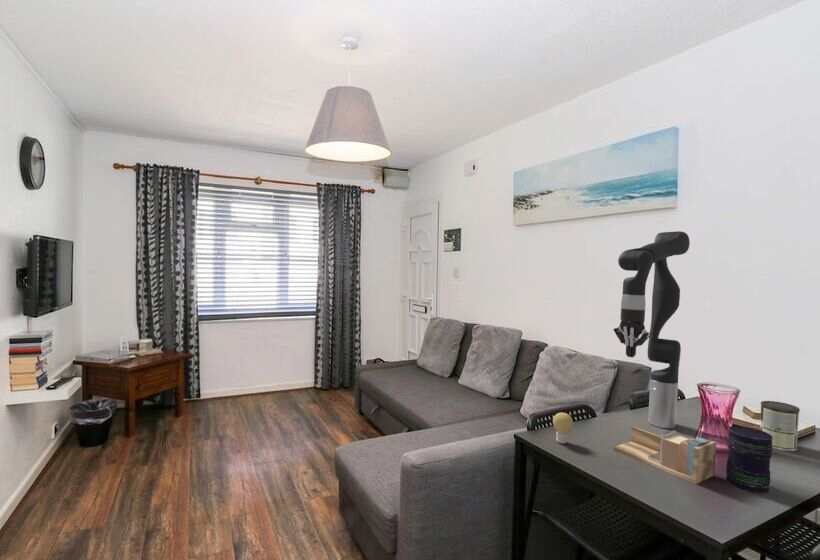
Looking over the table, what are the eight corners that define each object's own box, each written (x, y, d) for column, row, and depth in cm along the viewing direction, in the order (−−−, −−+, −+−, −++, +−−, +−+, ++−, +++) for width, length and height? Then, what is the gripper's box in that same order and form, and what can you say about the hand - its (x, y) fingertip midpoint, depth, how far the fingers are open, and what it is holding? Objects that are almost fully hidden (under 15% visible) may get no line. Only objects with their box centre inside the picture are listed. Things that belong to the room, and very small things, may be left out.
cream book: (674, 460, 133) (675, 434, 132) (689, 466, 129) (691, 439, 129) (661, 464, 129) (662, 438, 129) (676, 471, 125) (678, 444, 125)
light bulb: (567, 447, 142) (568, 417, 141) (548, 442, 146) (550, 412, 146) (574, 442, 146) (576, 413, 146) (556, 436, 151) (558, 408, 150)
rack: (632, 443, 147) (634, 413, 146) (714, 475, 125) (716, 440, 125) (613, 449, 141) (615, 418, 141) (695, 484, 120) (697, 447, 120)
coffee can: (751, 437, 156) (754, 399, 155) (783, 440, 154) (786, 401, 154) (770, 449, 146) (773, 408, 145) (805, 452, 144) (807, 411, 144)
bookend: (660, 453, 137) (661, 426, 136) (674, 459, 133) (676, 430, 133) (648, 458, 133) (649, 429, 133) (662, 464, 129) (664, 434, 129)
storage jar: (730, 472, 128) (733, 423, 127) (772, 486, 120) (776, 433, 120) (721, 483, 121) (724, 431, 121) (765, 498, 114) (769, 442, 113)
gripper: (658, 309, 146) (655, 359, 147) (621, 305, 158) (619, 352, 158) (645, 310, 142) (642, 361, 143) (609, 306, 154) (606, 354, 154)
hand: (630, 356), depth 151 cm, fingers closed
